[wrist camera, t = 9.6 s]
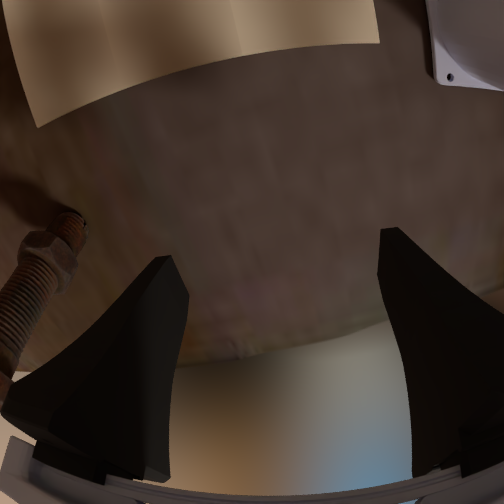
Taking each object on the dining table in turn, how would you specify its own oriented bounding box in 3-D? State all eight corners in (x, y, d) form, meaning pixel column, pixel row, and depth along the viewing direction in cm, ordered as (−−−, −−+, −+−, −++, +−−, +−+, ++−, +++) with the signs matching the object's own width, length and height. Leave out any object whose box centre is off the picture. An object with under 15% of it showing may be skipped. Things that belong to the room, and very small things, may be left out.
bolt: (37, 207, 21) (-70, 356, 9) (74, 184, 19) (-54, 358, 8) (75, 260, 24) (-3, 413, 12) (115, 245, 23) (32, 425, 11)
